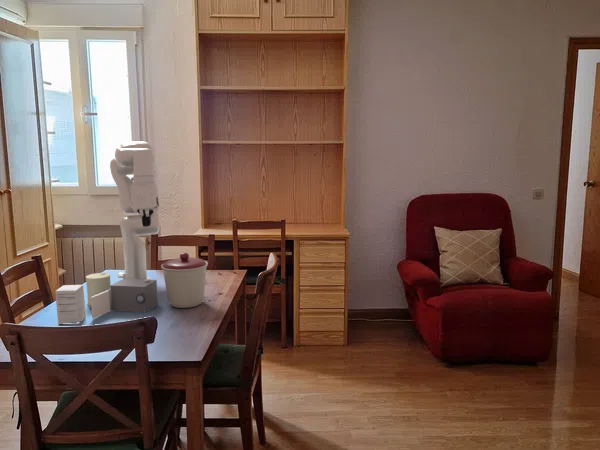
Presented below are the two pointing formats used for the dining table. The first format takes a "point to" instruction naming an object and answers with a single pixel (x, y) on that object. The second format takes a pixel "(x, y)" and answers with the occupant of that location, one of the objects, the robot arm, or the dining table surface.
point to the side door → (101, 303)
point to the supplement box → (70, 304)
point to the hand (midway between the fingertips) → (146, 225)
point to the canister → (185, 281)
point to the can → (97, 284)
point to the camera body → (134, 295)
